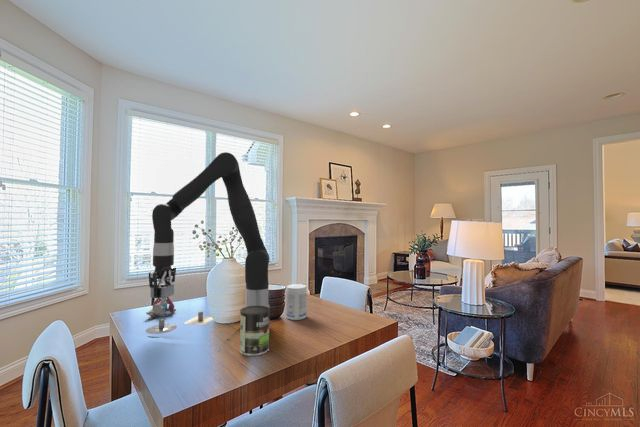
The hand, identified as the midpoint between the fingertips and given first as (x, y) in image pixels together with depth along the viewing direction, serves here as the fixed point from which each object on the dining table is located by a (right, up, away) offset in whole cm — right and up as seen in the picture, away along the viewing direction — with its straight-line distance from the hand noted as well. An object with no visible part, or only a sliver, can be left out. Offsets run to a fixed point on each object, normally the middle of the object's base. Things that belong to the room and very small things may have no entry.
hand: (162, 295), depth 122 cm
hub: (0, -15, 0) cm, 15 cm away
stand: (+11, -15, +10) cm, 21 cm away
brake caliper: (-10, -15, +19) cm, 26 cm away
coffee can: (+40, -15, -15) cm, 45 cm away
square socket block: (0, 0, 0) cm, 0 cm away
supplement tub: (+52, -16, +21) cm, 58 cm away
